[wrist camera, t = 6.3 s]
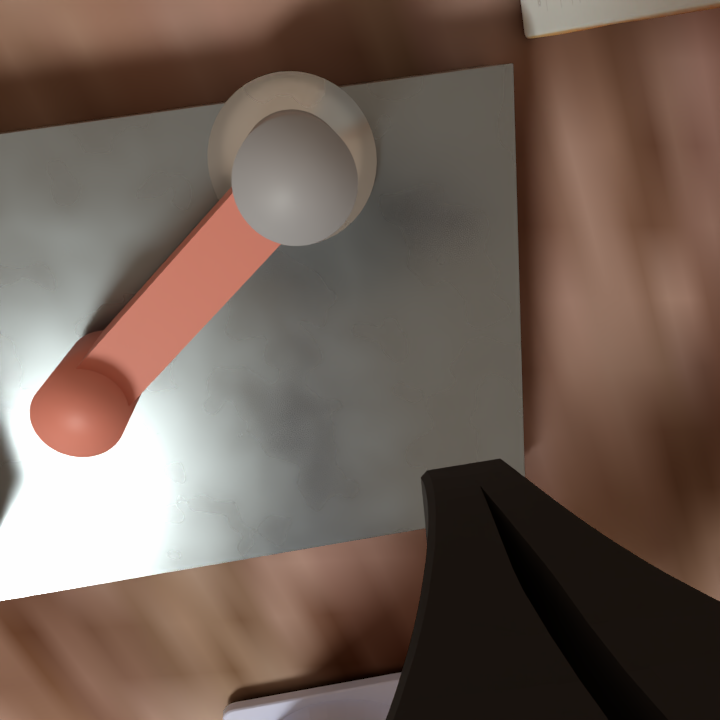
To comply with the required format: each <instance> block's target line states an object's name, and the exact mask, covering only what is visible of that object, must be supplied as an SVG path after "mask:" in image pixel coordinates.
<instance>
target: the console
mask: <svg viewBox="0 0 720 720" xmlns="http://www.w3.org/2000/svg"><path fill="white" fill-rule="evenodd" d="M289 109H294V110H302V111H306V112H309V113H312V114H314V115H316V116H318V117H319V118H320V119H322V120H323V121H325V122H326V123H327V124H328V125H329V126H330V127H331V128H332V129H333V130H334V131H335V132H336V133H337V134H338V135H339V137H340V138H341V139H342V140H343V141H344V142H345V144H346V145H347V147H348V148H349V150H350V152H351V154H352V156H353V159H354V162H355V164H356V169H357V174H358V191H357V197H356V201H355V204H354V207H353V209H352V211H351V213H350V215H349V217H348V218H347V220H346V221H345V222H344V224H343V225H342V226H341V227H340V228H339V229H338V230H337V231H336V232H335V233H333V234H332V235H330V236H329V237H327V238H325V239H323V240H322V241H319V242H316V243H313V244H309V245H302V246H289V245H283V244H281V245H280V246H279V247H278V248H277V249H276V250H275V251H274V252H273V253H272V254H271V255H270V256H269V257H268V259H267V260H266V261H265V262H264V263H263V264H262V265H261V266H260V267H259V268H258V269H257V270H256V271H255V272H254V274H253V275H252V276H251V277H250V278H249V279H248V280H247V281H246V282H245V283H244V284H243V285H242V286H241V287H240V289H239V290H238V291H237V292H236V293H235V294H234V295H233V296H232V297H231V298H230V299H229V300H228V301H227V302H226V304H225V305H224V306H223V307H222V308H221V309H220V310H219V311H218V312H217V313H216V314H215V315H214V316H213V317H212V319H211V320H210V321H209V322H208V323H207V324H206V325H205V326H204V327H203V328H202V329H201V330H200V331H199V332H198V333H197V335H196V336H195V337H194V338H193V339H192V340H191V341H190V342H189V343H188V344H187V345H186V346H185V347H184V348H183V350H182V351H181V352H180V353H179V354H178V355H177V356H176V357H175V358H174V359H173V360H172V361H171V362H170V363H169V365H168V366H167V367H166V368H165V369H164V370H163V371H162V372H161V373H160V374H159V375H158V376H157V377H156V378H155V380H154V381H153V382H152V383H151V384H150V385H149V386H148V387H147V388H146V389H145V390H144V391H143V392H142V393H141V396H140V398H139V400H138V402H137V404H136V407H135V409H134V411H133V413H132V415H131V418H130V420H129V422H128V424H127V426H126V428H125V431H124V433H123V435H122V437H121V439H120V440H119V442H118V443H117V444H116V445H115V446H114V447H113V448H111V449H110V450H109V451H107V452H105V453H103V454H100V455H97V456H93V457H86V458H79V457H72V456H67V455H64V454H61V453H59V452H57V451H55V450H53V449H51V448H50V447H48V446H47V445H46V444H45V443H44V442H43V441H41V439H40V438H39V437H38V436H37V434H36V433H35V431H34V429H33V427H32V424H31V421H30V404H31V401H32V399H33V397H34V395H35V394H36V392H37V391H38V390H39V389H40V387H41V386H42V385H43V384H44V382H45V381H46V380H47V378H48V377H49V376H50V375H51V373H52V372H53V371H54V370H55V368H56V367H57V366H58V365H59V363H60V362H61V361H62V360H63V358H64V357H65V356H66V355H67V353H68V352H69V351H70V350H71V348H72V347H73V346H74V344H75V343H76V342H77V341H78V340H79V339H80V338H82V337H83V336H85V335H87V334H89V333H92V332H96V331H103V330H104V329H105V328H106V327H107V326H108V325H109V324H110V323H111V321H112V320H113V319H114V318H115V317H116V316H117V315H118V314H119V312H120V311H121V310H122V309H123V308H124V307H125V306H126V305H127V303H128V302H129V301H130V300H131V299H132V298H133V297H134V296H135V294H136V293H137V292H138V291H139V290H140V289H141V288H142V287H143V285H144V284H145V283H146V282H147V281H148V280H149V279H150V278H151V276H152V275H153V274H154V273H155V272H156V271H157V270H158V269H159V267H160V266H161V265H162V264H163V263H164V262H165V261H166V260H167V258H168V257H169V256H170V255H171V254H172V253H173V252H174V251H175V249H176V248H177V247H178V246H179V245H180V244H181V243H182V242H183V240H184V239H185V238H186V237H187V236H188V235H189V234H190V233H191V231H192V230H193V229H194V228H195V227H196V226H197V225H198V224H199V222H200V221H201V220H202V219H203V218H204V217H205V216H206V215H207V213H208V212H209V211H210V210H211V209H212V208H213V207H214V206H215V205H216V203H217V202H218V201H219V200H220V199H221V198H222V197H223V196H224V194H225V193H226V192H227V191H228V190H229V189H230V188H231V187H232V178H231V176H232V168H233V164H234V160H235V157H236V155H237V152H238V150H239V149H240V147H241V145H242V143H243V142H244V140H245V139H246V137H247V136H248V134H249V133H250V131H251V130H252V129H253V127H254V126H255V125H256V124H257V123H258V122H259V121H260V120H262V119H263V118H264V117H266V116H268V115H270V114H272V113H274V112H277V111H281V110H289ZM494 459H502V460H503V461H504V462H506V463H507V464H508V465H510V466H511V467H512V468H514V469H515V470H516V471H517V472H519V473H520V474H521V475H523V476H524V477H525V467H524V431H523V396H522V360H521V325H520V289H519V253H518V218H517V182H516V147H515V111H514V76H513V63H512V64H498V65H486V66H479V67H472V68H464V69H457V70H450V71H443V72H435V73H428V74H421V75H414V76H406V77H399V78H392V79H385V80H377V81H370V82H363V83H356V84H348V85H341V86H336V85H335V84H333V83H332V82H330V81H328V80H326V79H324V78H321V77H319V76H316V75H313V74H309V73H304V72H296V71H283V72H275V73H271V74H266V75H264V76H261V77H258V78H256V79H254V80H252V81H250V82H248V83H247V84H245V85H244V86H242V87H241V88H240V89H238V90H237V91H236V92H235V93H234V94H233V95H232V96H231V97H230V98H229V99H228V100H227V101H225V102H218V103H211V104H203V105H196V106H189V107H181V108H174V109H167V110H160V111H152V112H145V113H138V114H131V115H123V116H116V117H109V118H102V119H94V120H87V121H80V122H73V123H65V124H58V125H51V126H44V127H36V128H29V129H22V130H15V131H7V132H0V601H2V600H8V599H14V598H20V597H25V596H31V595H37V594H43V593H49V592H55V591H61V590H67V589H72V588H78V587H84V586H90V585H96V584H102V583H108V582H113V581H119V580H125V579H131V578H137V577H143V576H149V575H154V574H160V573H166V572H172V571H178V570H184V569H190V568H196V567H201V566H207V565H213V564H219V563H225V562H231V561H237V560H242V559H248V558H254V557H260V556H266V555H272V554H278V553H283V552H289V551H295V550H301V549H307V548H313V547H319V546H325V545H330V544H336V543H342V542H348V541H354V540H360V539H366V538H371V537H377V536H383V535H389V534H395V533H401V532H407V531H412V530H418V529H424V528H426V527H425V516H424V506H423V496H422V485H421V477H422V475H423V474H424V473H425V472H426V471H427V470H432V469H438V468H444V467H450V466H457V465H463V464H469V463H475V462H481V461H488V460H494Z"/></svg>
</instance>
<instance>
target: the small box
mask: <svg viewBox="0 0 720 720" xmlns="http://www.w3.org/2000/svg"><path fill="white" fill-rule="evenodd" d="M719 7H720V0H521V8H522V16H523V25H524V32H525V36H526V37H527V38H529V39H532V38H539V37H546V36H553V35H559V34H565V33H571V32H576V31H581V30H586V29H591V28H596V27H601V26H606V25H611V24H617V23H624V22H631V21H637V20H644V19H651V18H658V17H664V16H670V15H677V14H683V13H689V12H695V11H701V10H707V9H713V8H719Z"/></svg>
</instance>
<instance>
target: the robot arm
mask: <svg viewBox="0 0 720 720" xmlns="http://www.w3.org/2000/svg"><path fill="white" fill-rule="evenodd" d="M421 485H422V496H423V506H424V516H425V527H426V537H427V554H426V563H425V570H424V576H423V583H422V590H421V596H420V602H419V606H418V611H417V616H416V621H415V625H414V629H413V633H412V637H411V641H410V645H409V649H408V653H407V656H406V659H405V662H404V666H403V669H402V672H399V673H394V674H388V675H383V676H377V677H372V678H366V679H361V680H355V681H349V682H344V683H338V684H333V685H327V686H322V687H316V688H311V689H305V690H300V691H294V692H289V693H283V694H277V695H272V696H266V697H261V698H255V699H250V700H244V701H239V702H234V703H231V704H229V705H227V706H226V707H225V709H224V712H223V720H720V601H718V600H716V599H714V598H712V597H710V596H708V595H706V594H704V593H702V592H700V591H698V590H697V589H695V588H693V587H691V586H689V585H687V584H685V583H683V582H681V581H680V580H678V579H676V578H674V577H672V576H670V575H668V574H666V573H665V572H663V571H661V570H660V569H658V568H656V567H654V566H653V565H651V564H649V563H647V562H646V561H644V560H642V559H641V558H639V557H638V556H636V555H634V554H633V553H631V552H630V551H628V550H626V549H625V548H623V547H622V546H620V545H618V544H617V543H615V542H614V541H612V540H610V539H609V538H607V537H606V536H605V535H603V534H602V533H600V532H599V531H597V530H596V529H594V528H593V527H591V526H590V525H588V524H587V523H585V522H584V521H583V520H581V519H580V518H578V517H577V516H576V515H574V514H573V513H571V512H570V511H569V510H567V509H566V508H564V507H563V506H562V505H560V504H559V503H558V502H556V501H555V500H554V499H552V498H551V497H550V496H549V495H547V494H546V493H545V492H543V491H542V490H541V489H539V488H538V487H537V486H535V485H534V484H533V483H532V482H530V481H529V480H528V479H526V478H525V477H524V476H523V475H521V474H520V473H519V472H517V471H516V470H515V469H514V468H512V467H511V466H510V465H508V464H507V463H506V462H504V461H503V460H502V459H494V460H488V461H481V462H475V463H469V464H463V465H457V466H450V467H444V468H438V469H432V470H427V471H426V472H425V473H424V474H423V475H422V477H421Z"/></svg>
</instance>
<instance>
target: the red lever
mask: <svg viewBox="0 0 720 720" xmlns="http://www.w3.org/2000/svg"><path fill="white" fill-rule="evenodd" d="M231 178H232V187H231V188H230V189H229V190H228V191H227V192H226V193H225V194H224V196H223V197H222V198H221V199H220V200H219V201H218V202H217V203H216V205H215V206H214V207H213V208H212V209H211V210H210V211H209V212H208V213H207V215H206V216H205V217H204V218H203V219H202V220H201V221H200V222H199V224H198V225H197V226H196V227H195V228H194V229H193V230H192V231H191V233H190V234H189V235H188V236H187V237H186V238H185V239H184V240H183V242H182V243H181V244H180V245H179V246H178V247H177V248H176V249H175V251H174V252H173V253H172V254H171V255H170V256H169V257H168V258H167V260H166V261H165V262H164V263H163V264H162V265H161V266H160V267H159V269H158V270H157V271H156V272H155V273H154V274H153V275H152V276H151V278H150V279H149V280H148V281H147V282H146V283H145V284H144V285H143V287H142V288H141V289H140V290H139V291H138V292H137V293H136V294H135V296H134V297H133V298H132V299H131V300H130V301H129V302H128V303H127V305H126V306H125V307H124V308H123V309H122V310H121V311H120V312H119V314H118V315H117V316H116V317H115V318H114V319H113V320H112V321H111V323H110V324H109V325H108V326H107V327H106V328H105V329H104V330H103V331H96V332H92V333H89V334H87V335H85V336H83V337H82V338H80V339H79V340H78V341H77V342H76V343H75V344H74V346H73V347H72V348H71V350H70V351H69V352H68V353H67V355H66V356H65V357H64V358H63V360H62V361H61V362H60V363H59V365H58V366H57V367H56V368H55V370H54V371H53V372H52V373H51V375H50V376H49V377H48V378H47V380H46V381H45V382H44V384H43V385H42V386H41V387H40V389H39V390H38V391H37V392H36V394H35V395H34V397H33V399H32V401H31V404H30V421H31V424H32V427H33V429H34V431H35V433H36V434H37V436H38V437H39V438H40V439H41V441H43V442H44V443H45V444H46V445H47V446H48V447H50V448H51V449H53V450H55V451H57V452H59V453H61V454H64V455H67V456H72V457H79V458H86V457H93V456H97V455H100V454H103V453H105V452H107V451H109V450H110V449H111V448H113V447H114V446H115V445H116V444H117V443H118V442H119V440H120V439H121V437H122V435H123V433H124V431H125V428H126V426H127V424H128V422H129V420H130V418H131V415H132V413H133V411H134V409H135V407H136V404H137V402H138V400H139V398H140V396H141V393H142V392H143V391H144V390H145V389H146V388H147V387H148V386H149V385H150V384H151V383H152V382H153V381H154V380H155V378H156V377H157V376H158V375H159V374H160V373H161V372H162V371H163V370H164V369H165V368H166V367H167V366H168V365H169V363H170V362H171V361H172V360H173V359H174V358H175V357H176V356H177V355H178V354H179V353H180V352H181V351H182V350H183V348H184V347H185V346H186V345H187V344H188V343H189V342H190V341H191V340H192V339H193V338H194V337H195V336H196V335H197V333H198V332H199V331H200V330H201V329H202V328H203V327H204V326H205V325H206V324H207V323H208V322H209V321H210V320H211V319H212V317H213V316H214V315H215V314H216V313H217V312H218V311H219V310H220V309H221V308H222V307H223V306H224V305H225V304H226V302H227V301H228V300H229V299H230V298H231V297H232V296H233V295H234V294H235V293H236V292H237V291H238V290H239V289H240V287H241V286H242V285H243V284H244V283H245V282H246V281H247V280H248V279H249V278H250V277H251V276H252V275H253V274H254V272H255V271H256V270H257V269H258V268H259V267H260V266H261V265H262V264H263V263H264V262H265V261H266V260H267V259H268V257H269V256H270V255H271V254H272V253H273V252H274V251H275V250H276V249H277V248H278V247H279V246H280V245H281V244H283V245H289V246H302V245H309V244H313V243H316V242H319V241H322V240H323V239H325V238H327V237H329V236H330V235H332V234H333V233H335V232H336V231H337V230H338V229H339V228H340V227H341V226H342V225H343V224H344V222H345V221H346V220H347V218H348V217H349V215H350V213H351V211H352V209H353V207H354V204H355V201H356V197H357V191H358V174H357V169H356V164H355V162H354V159H353V156H352V154H351V152H350V150H349V148H348V147H347V145H346V144H345V142H344V141H343V140H342V139H341V138H340V137H339V135H338V134H337V133H336V132H335V131H334V130H333V129H332V128H331V127H330V126H329V125H328V124H327V123H326V122H325V121H323V120H322V119H320V118H319V117H318V116H316V115H314V114H312V113H309V112H306V111H302V110H294V109H289V110H281V111H277V112H274V113H272V114H270V115H268V116H266V117H264V118H263V119H262V120H260V121H259V122H258V123H257V124H256V125H255V126H254V127H253V129H252V130H251V131H250V133H249V134H248V136H247V137H246V139H245V140H244V142H243V143H242V145H241V147H240V149H239V150H238V152H237V155H236V157H235V160H234V164H233V168H232V176H231Z"/></svg>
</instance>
